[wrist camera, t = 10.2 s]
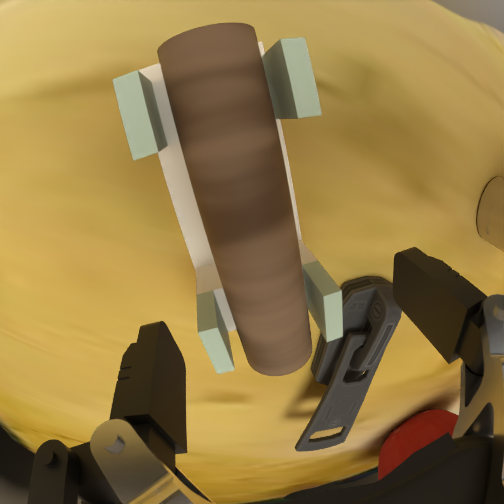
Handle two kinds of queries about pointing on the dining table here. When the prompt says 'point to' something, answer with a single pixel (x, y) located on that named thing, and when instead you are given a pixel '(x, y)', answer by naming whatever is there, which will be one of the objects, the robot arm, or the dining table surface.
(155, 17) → the dining table surface
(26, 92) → the dining table surface
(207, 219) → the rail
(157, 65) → the white cradle stand
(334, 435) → the zipper pull
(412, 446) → the mixing bowl
